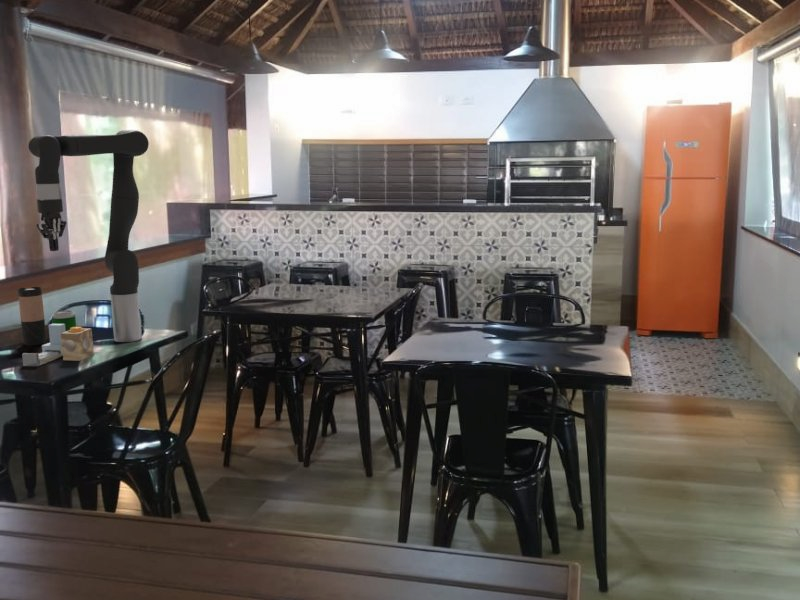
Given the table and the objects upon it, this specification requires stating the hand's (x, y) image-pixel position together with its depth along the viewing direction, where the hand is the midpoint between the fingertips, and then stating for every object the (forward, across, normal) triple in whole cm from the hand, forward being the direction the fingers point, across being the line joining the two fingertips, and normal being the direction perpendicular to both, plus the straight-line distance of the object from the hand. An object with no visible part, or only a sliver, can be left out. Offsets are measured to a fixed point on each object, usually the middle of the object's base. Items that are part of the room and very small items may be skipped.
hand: (54, 250), depth 250 cm
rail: (+35, +5, -1) cm, 35 cm away
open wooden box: (+35, +4, +8) cm, 36 cm away
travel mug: (+35, -13, -20) cm, 43 cm away
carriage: (+35, +1, -1) cm, 35 cm away
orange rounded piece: (+30, +4, +8) cm, 31 cm away
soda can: (+35, -12, -7) cm, 38 cm away
